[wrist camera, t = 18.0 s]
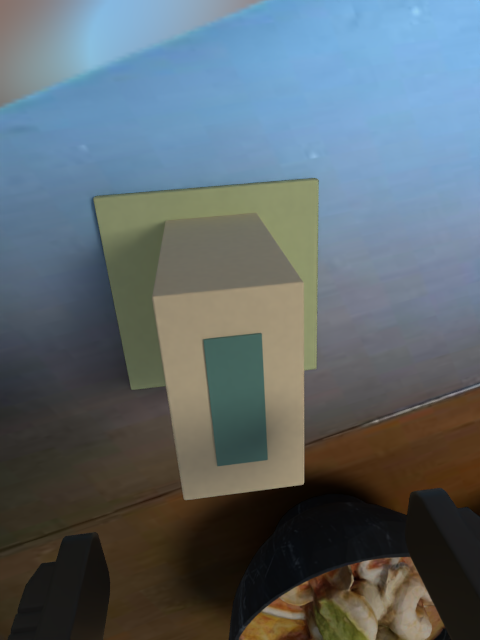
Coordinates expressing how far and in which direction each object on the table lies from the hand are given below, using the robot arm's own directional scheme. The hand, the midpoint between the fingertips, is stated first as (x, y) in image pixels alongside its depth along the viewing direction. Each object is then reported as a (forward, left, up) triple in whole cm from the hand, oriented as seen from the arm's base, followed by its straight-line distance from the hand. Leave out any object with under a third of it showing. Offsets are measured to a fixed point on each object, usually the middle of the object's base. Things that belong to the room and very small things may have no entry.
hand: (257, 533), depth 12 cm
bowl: (+22, +7, -17) cm, 29 cm away
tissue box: (0, 0, -17) cm, 17 cm away
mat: (0, 0, -17) cm, 17 cm away
